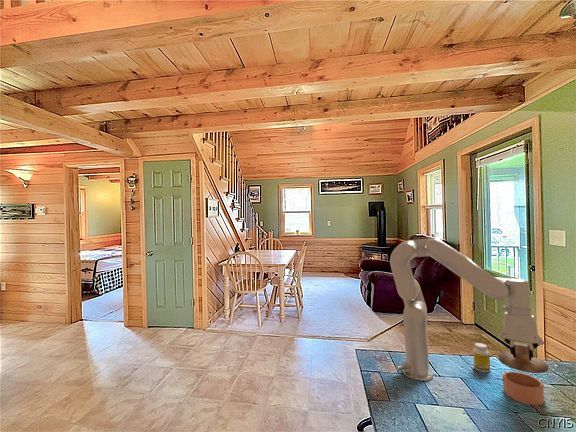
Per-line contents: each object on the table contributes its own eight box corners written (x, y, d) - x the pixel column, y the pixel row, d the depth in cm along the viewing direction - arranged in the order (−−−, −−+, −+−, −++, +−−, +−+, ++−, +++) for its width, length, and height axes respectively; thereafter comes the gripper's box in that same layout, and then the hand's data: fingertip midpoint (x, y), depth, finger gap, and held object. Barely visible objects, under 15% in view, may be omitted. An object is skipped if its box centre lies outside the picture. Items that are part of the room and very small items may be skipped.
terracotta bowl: (527, 407, 102) (526, 390, 102) (496, 388, 114) (495, 373, 114) (552, 402, 104) (551, 385, 105) (519, 384, 116) (519, 369, 116)
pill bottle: (493, 373, 125) (491, 348, 126) (477, 372, 127) (476, 347, 127) (486, 366, 131) (485, 342, 132) (471, 365, 133) (470, 341, 133)
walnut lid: (500, 366, 107) (498, 348, 108) (496, 351, 120) (495, 335, 120) (552, 377, 99) (551, 357, 99) (543, 359, 112) (542, 341, 112)
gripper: (493, 310, 112) (496, 357, 111) (549, 316, 103) (553, 367, 102) (491, 305, 118) (494, 349, 117) (544, 311, 109) (548, 358, 108)
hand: (521, 357), depth 110 cm, fingers closed on walnut lid, 4 cm apart
